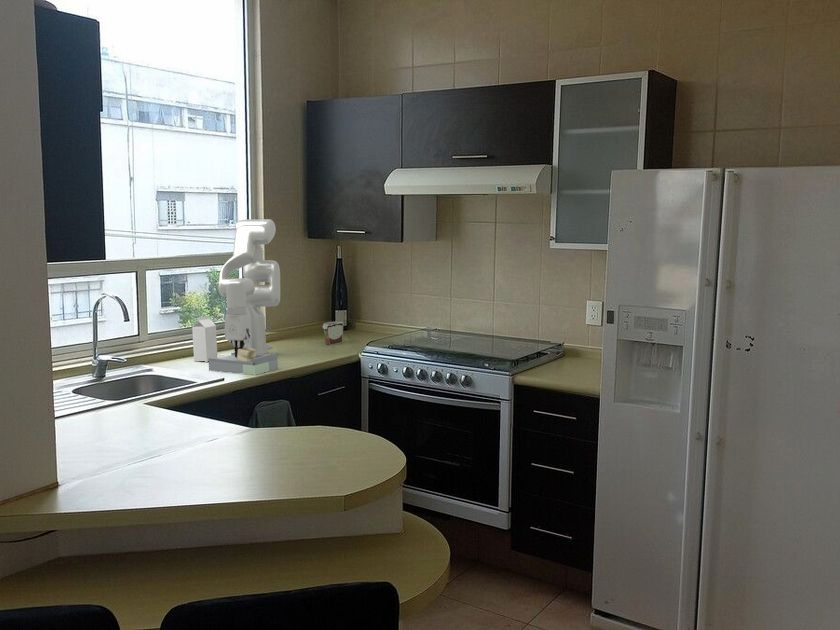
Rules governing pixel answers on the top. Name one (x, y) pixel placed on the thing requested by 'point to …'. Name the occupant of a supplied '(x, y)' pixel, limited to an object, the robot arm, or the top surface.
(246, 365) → the two-pit board
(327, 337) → the food container
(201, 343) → the milk carton
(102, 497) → the top surface
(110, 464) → the top surface
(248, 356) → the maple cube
